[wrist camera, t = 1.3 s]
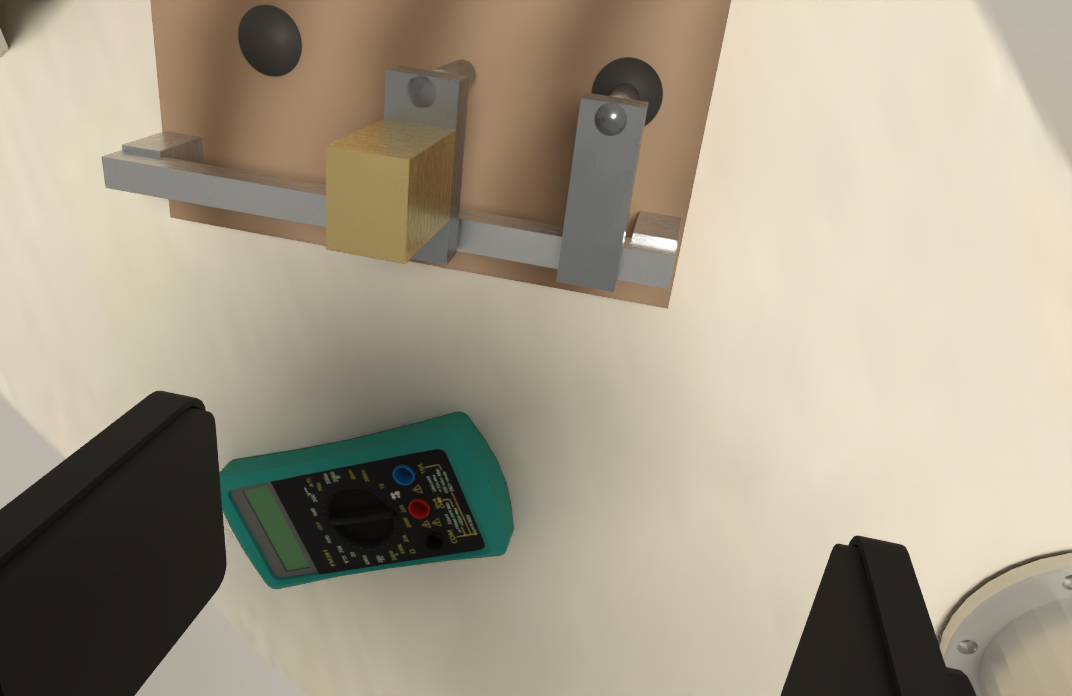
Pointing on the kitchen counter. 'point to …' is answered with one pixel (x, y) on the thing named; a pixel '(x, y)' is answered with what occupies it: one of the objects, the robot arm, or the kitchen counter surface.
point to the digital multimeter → (369, 503)
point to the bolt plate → (491, 125)
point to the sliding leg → (403, 170)
